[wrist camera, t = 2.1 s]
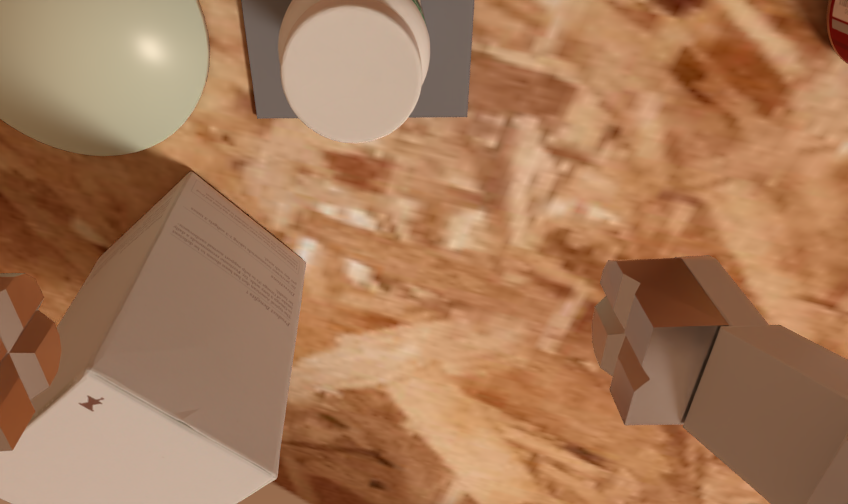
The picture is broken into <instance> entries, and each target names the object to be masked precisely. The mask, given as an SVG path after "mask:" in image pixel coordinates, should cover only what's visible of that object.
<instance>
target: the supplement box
mask: <svg viewBox="0 0 848 504" xmlns="http://www.w3.org/2000/svg"><path fill="white" fill-rule="evenodd" d="M305 268H306V262H305V261H304V260H302V259H301V258H300V257H299V256H297V255H296V254H295V253H294V252H292V251H291V250H290V249H289V248H287V247H286V246H285V245H284V244H282V243H281V242H280V241H279V240H277V239H276V238H275V237H274V236H272V235H271V234H270V233H269V232H267V231H266V230H265V229H264V228H262V227H261V226H260V225H259V224H257V223H256V222H255V221H254V220H252V219H251V218H250V217H249V216H247V215H246V214H245V213H244V212H242V211H241V210H240V209H239V208H237V207H236V206H235V205H234V204H232V203H231V202H230V201H229V200H227V199H226V198H225V197H224V196H222V195H221V194H220V193H219V192H217V191H216V190H215V189H214V188H212V187H211V186H210V185H209V184H207V183H206V182H205V181H204V180H202V179H201V178H200V177H199V176H197V175H196V174H195V173H194V172H189V173H188V174H187V175H186V176H185V177H184V178H183V179H182V180H181V181H180V182H179V183H177V184H176V185H175V186H174V187H173V188H172V189H171V190H170V191H169V192H168V193H167V194H166V195H165V196H164V197H163V198H162V199H161V200H160V201H159V202H158V203H156V204H155V205H154V206H153V207H152V208H151V209H150V210H149V211H148V212H147V213H146V214H145V215H144V216H143V217H142V218H141V219H140V220H139V221H137V222H136V223H135V224H134V225H133V226H132V227H131V228H130V229H129V230H128V231H127V232H126V233H125V234H124V235H123V236H122V237H120V238H119V239H118V240H117V241H116V242H115V243H114V244H113V245H112V246H111V247H110V248H109V249H108V250H107V251H106V252H105V253H104V254H103V255H102V256H101V257H100V258H99V259H98V261H97V262H96V264H95V266H94V267H93V269H92V271H91V272H90V274H89V276H88V277H87V279H86V281H85V282H84V284H83V286H82V287H81V289H80V290H79V292H78V294H77V295H76V297H75V299H74V300H73V302H72V303H71V305H70V307H69V308H68V310H67V312H66V313H65V315H64V317H63V318H62V320H61V322H60V323H59V325H58V326H57V330H58V333H59V335H60V343H61V350H62V352H61V357H60V363H59V368H58V372H57V374H56V376H55V377H54V379H53V381H52V383H51V385H50V387H48V388H47V389H45V390H44V391H43V392H41V393H40V394H38V395H37V396H35V397H34V398H32V399H31V401H32V404H33V407H34V409H35V413H34V415H33V416H32V418H31V420H30V422H29V423H28V425H27V427H26V428H25V430H24V432H23V434H22V435H21V437H20V439H19V441H18V442H17V444H16V446H15V447H14V449H13V451H0V499H2V500H4V501H7V502H9V503H11V504H237V503H239V502H241V501H242V500H244V499H245V498H247V497H249V496H250V495H252V494H253V493H255V492H256V491H258V490H259V489H261V488H263V487H264V486H266V485H267V484H269V483H271V482H272V481H274V480H276V478H277V477H278V468H279V458H280V448H281V441H282V434H283V426H284V419H285V412H286V405H287V398H288V390H289V384H290V376H291V371H292V363H293V356H294V349H295V342H296V335H297V327H298V320H299V313H300V306H301V299H302V290H303V283H304V275H305Z"/></svg>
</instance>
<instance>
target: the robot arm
mask: <svg viewBox="0 0 848 504" xmlns="http://www.w3.org/2000/svg"><path fill="white" fill-rule="evenodd" d="M600 284H601V286H602V288H603V290H604V292H605V294H606V297H604V298H603V299H602V300H601V301H600V302H599V303H598V304H597V305H596V306H595V309H594V314H593V320H592V343H593V348H594V352H595V356H596V358H597V361H598V363H599V366H600V368H602V369H603V370H604V371H606V372H607V373H609V374H610V375H611V376H613V378H612V382H611V386H610V392H611V395H612V397H613V399H614V402H615V404H616V406H617V409H618V411H619V413H620V416H621V418H622V420H623V423H624V425H668V424H684V425H683V428H685V429H686V430H687V431H688V432H689V433H690V434H691V435H693V436H694V437H695V438H696V439H697V440H698V441H699V442H701V443H702V444H703V445H704V446H705V447H706V448H708V449H709V450H710V451H711V452H712V453H713V454H714V455H716V456H717V457H718V458H719V459H720V460H721V461H723V462H724V463H725V464H726V465H727V466H728V467H729V468H731V469H732V470H733V471H734V472H735V473H736V474H737V475H739V476H740V477H741V478H742V479H743V480H744V481H746V482H747V483H748V484H749V485H750V486H751V487H752V488H754V489H755V490H756V491H757V492H758V493H759V494H760V495H762V496H763V497H764V498H765V499H766V500H767V501H769V502H770V503H771V504H848V360H847V359H845V358H843V357H841V356H839V355H837V354H835V353H833V352H832V351H830V350H828V349H826V348H824V347H822V346H820V345H818V344H816V343H814V342H812V341H810V340H808V339H806V338H804V337H802V336H800V335H799V334H797V333H795V332H793V331H791V330H789V329H787V328H785V327H783V326H781V325H769V324H768V323H767V322H766V321H765V319H764V318H763V317H762V316H761V314H760V313H759V312H758V311H757V309H756V308H755V307H754V306H753V304H752V303H751V302H750V301H749V299H748V298H747V297H746V296H745V294H744V293H743V292H742V291H741V289H740V288H739V287H738V286H737V284H736V283H735V282H734V281H733V279H732V278H731V277H730V276H729V274H728V273H727V272H726V271H725V269H724V268H723V267H722V266H721V264H720V263H719V262H718V261H717V260H716V259H715V258H713V257H711V256H709V255H707V256H688V257H675V258H663V259H635V260H608V262H607V264H606V265H605V267H604V269H603V273H602V277H601V282H600ZM43 299H44V296H43V294H42V291H41V289H40V287H39V285H38V283H37V281H36V279H35V278H33V277H31V276H29V275H27V274H25V273H0V451H13V449H14V447H15V446H16V444H17V442H18V441H19V439H20V437H21V435H22V434H23V432H24V430H25V428H26V427H27V425H28V423H29V422H30V420H31V418H32V416H33V415H34V413H35V409H34V407H33V404H32V401H31V399H32V398H34V397H35V396H37V395H38V394H40V393H41V392H43V391H44V390H45V389H47V388H48V387H50V385H51V383H52V381H53V379H54V377H55V376H56V374H57V372H58V368H59V363H60V357H61V352H62V350H61V343H60V335H59V333H58V330H57V328H56V325H55V322H54V321H52V320H51V319H50V318H48V317H47V316H45V315H44V314H43V313H41V312H40V311H39V310H38V309H39V307H40V305H41V303H42V301H43Z"/></svg>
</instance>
